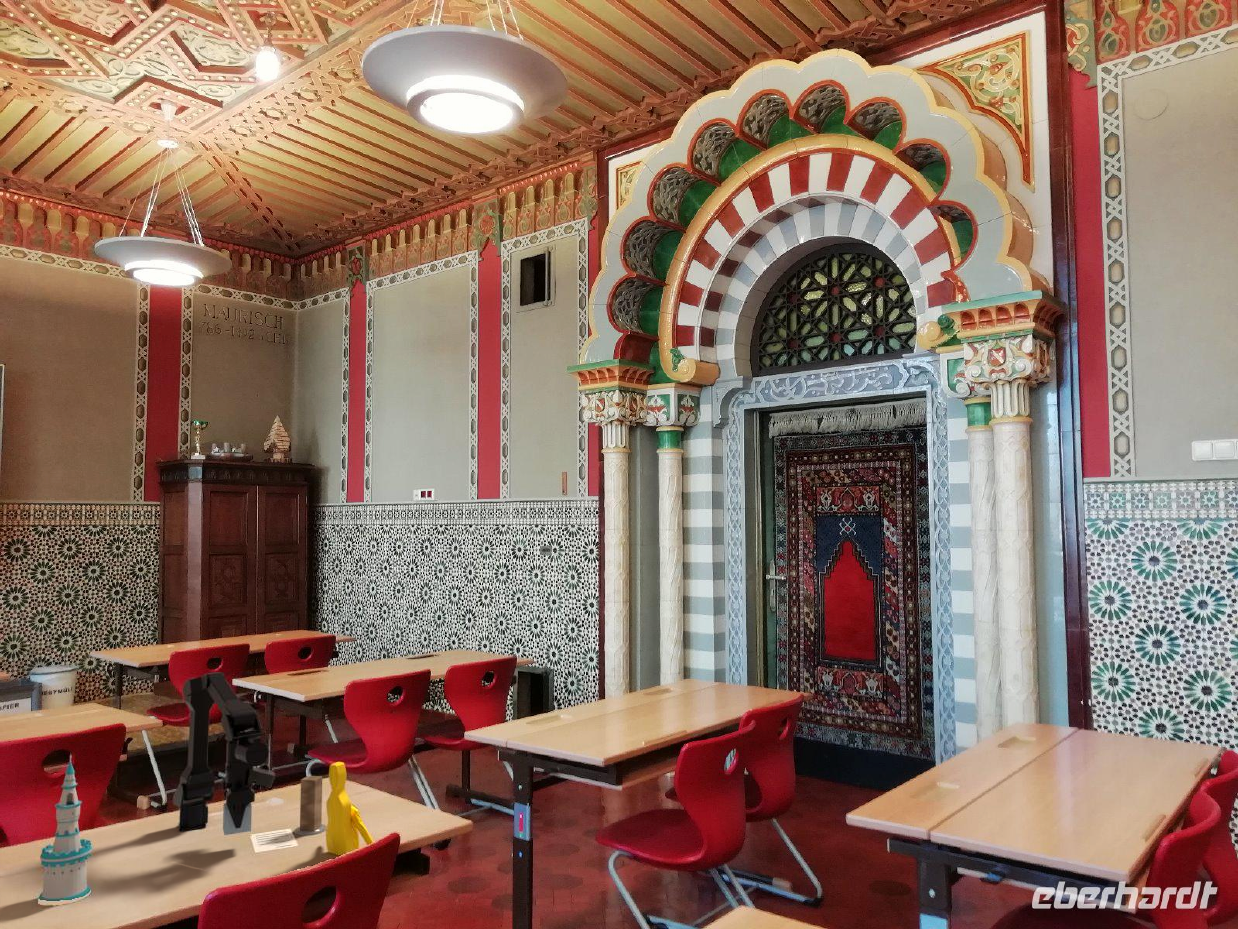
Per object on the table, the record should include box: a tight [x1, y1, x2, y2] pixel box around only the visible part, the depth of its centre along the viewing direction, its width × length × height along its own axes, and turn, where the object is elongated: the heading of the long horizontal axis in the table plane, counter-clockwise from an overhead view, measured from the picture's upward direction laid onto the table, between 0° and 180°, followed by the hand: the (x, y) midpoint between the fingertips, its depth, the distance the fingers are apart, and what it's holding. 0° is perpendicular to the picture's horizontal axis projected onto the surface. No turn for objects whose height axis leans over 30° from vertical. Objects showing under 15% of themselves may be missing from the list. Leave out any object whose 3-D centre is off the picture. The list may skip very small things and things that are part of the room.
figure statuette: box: [325, 761, 375, 856], centre depth 216 cm, size 18×8×22 cm, turn 56°
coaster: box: [293, 824, 327, 836], centre depth 232 cm, size 8×8×1 cm
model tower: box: [38, 754, 93, 901], centre depth 192 cm, size 10×10×30 cm
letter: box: [249, 828, 299, 854], centre depth 225 cm, size 10×15×1 cm, turn 27°
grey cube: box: [222, 802, 253, 836], centre depth 219 cm, size 6×6×6 cm
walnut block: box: [299, 775, 323, 831], centre depth 233 cm, size 4×4×13 cm
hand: (237, 824), depth 219 cm, fingers closed on grey cube, 6 cm apart
